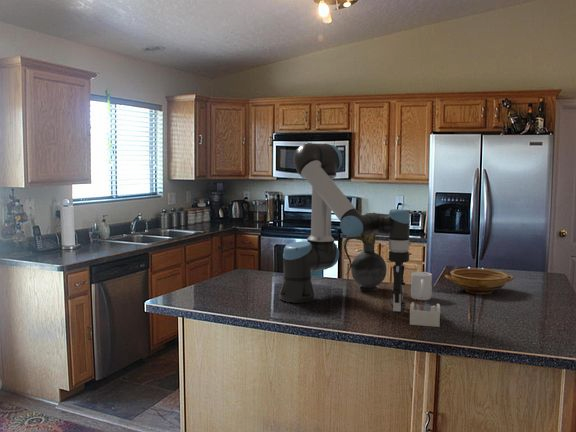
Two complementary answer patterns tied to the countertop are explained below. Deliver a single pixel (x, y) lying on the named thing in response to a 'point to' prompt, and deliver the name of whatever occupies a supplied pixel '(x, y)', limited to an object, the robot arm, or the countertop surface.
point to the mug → (421, 285)
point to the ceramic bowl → (479, 279)
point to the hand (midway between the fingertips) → (398, 306)
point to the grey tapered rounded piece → (401, 305)
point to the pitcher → (367, 264)
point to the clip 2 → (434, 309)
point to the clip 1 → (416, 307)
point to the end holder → (424, 317)
